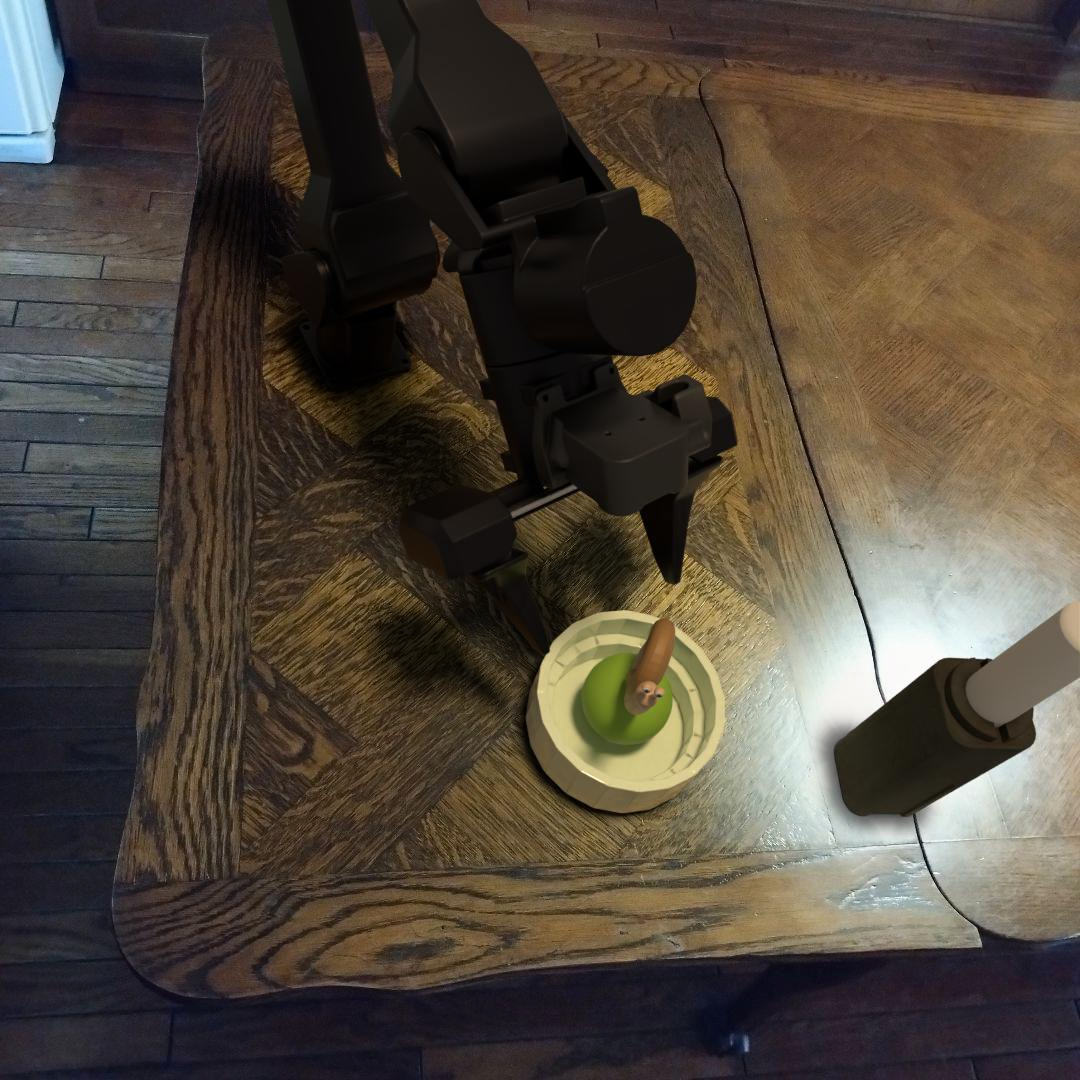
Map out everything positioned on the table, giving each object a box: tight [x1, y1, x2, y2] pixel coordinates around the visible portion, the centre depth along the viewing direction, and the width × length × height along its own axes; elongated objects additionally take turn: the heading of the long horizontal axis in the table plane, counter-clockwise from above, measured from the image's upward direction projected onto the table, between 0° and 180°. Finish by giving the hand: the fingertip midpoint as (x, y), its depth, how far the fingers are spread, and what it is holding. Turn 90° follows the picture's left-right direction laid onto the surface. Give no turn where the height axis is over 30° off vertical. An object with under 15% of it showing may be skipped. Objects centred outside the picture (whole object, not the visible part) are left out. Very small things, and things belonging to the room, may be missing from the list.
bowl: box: [525, 609, 726, 814], centre depth 60 cm, size 11×11×5 cm
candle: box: [834, 600, 1080, 818], centre depth 52 cm, size 5×5×25 cm
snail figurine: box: [582, 618, 676, 745], centre depth 56 cm, size 5×6×12 cm
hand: (610, 616), depth 56 cm, fingers open, 9 cm apart
